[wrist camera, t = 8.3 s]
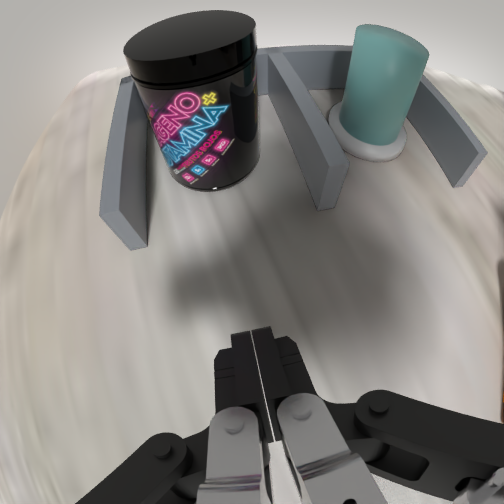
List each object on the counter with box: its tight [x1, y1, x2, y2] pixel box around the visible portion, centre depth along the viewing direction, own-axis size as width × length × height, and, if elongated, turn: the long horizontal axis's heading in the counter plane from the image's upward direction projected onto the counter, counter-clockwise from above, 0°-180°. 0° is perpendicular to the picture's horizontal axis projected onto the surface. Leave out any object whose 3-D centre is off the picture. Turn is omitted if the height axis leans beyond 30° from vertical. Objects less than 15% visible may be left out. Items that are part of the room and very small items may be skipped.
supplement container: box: [123, 10, 260, 192], centre depth 16 cm, size 7×7×10 cm
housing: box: [99, 24, 487, 251], centre depth 17 cm, size 14×26×9 cm, turn 102°
